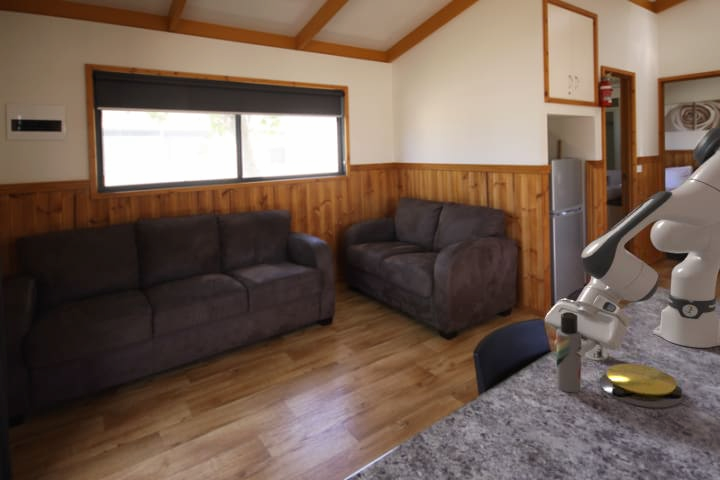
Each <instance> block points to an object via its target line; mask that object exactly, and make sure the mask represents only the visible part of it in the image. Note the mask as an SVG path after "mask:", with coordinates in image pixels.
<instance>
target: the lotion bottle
mask: <svg viewBox="0 0 720 480" xmlns="http://www.w3.org/2000/svg"><path fill="white" fill-rule="evenodd" d="M556 331H557V330H556ZM556 339H557V347H556V386H557V387H556V388H558V389H559V390H560V391H562V392H566V393H577V392H579V391H580V390H581V385H582V384H581V383H582V382H581V379H582V357H581V356H579V355H577V354H576V350H577V349H578V347H582V339H581V333H580V332H578V317H577V315H575V314H574V313H571V312H565V313H563V314H561V329H560V330H558V331H557V338H556Z"/></svg>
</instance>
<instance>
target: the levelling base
mask: <svg viewBox="0 0 720 480" xmlns="http://www.w3.org/2000/svg"><path fill="white" fill-rule="evenodd" d="M599 386H600V388H601V390H602V391H603V392H604V393H605V394H607V396H609V397H612V398H613V399H615V400H617V401H619V402H621V403H624V404H627V405H630V406H634V407H638V408H639V407H640V408H644V409H653V410H655V409H656V410H657V409H658V410H661V409H670V408H674V407H677V406H679V405H680V404H681V403H682V402H683V397H684V396H683V395H684V394H683V389H682V387H680V386H678V385H677V381H676V380H675V378H674V377H673V376H671V375H670V374H669V373H667V372H665V371H663V370H660V369H658V368H654V367H651V366H649V365H643V364H637V363H619V364H614V365H611V366H609V367H608V368H607V370H606V373H604V374H603V375H602V376H601V377H600V378H599Z"/></svg>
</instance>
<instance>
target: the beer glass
mask: <svg viewBox="0 0 720 480" xmlns="http://www.w3.org/2000/svg"><path fill="white" fill-rule="evenodd" d="M585 342H586V341H585ZM585 344H587V342H586V343H585ZM608 356H609V355H608V348H605V347H602V346H599V345H597V344H596V346H595V348H593V349H592V350H590V351H588V352H586V354H585V356H584V357H586V358H587V359H589V360H592V361H606V360H607V359H608Z"/></svg>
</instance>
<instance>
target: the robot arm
mask: <svg viewBox="0 0 720 480" xmlns="http://www.w3.org/2000/svg"><path fill="white" fill-rule="evenodd" d="M692 156H693V160H694V161H695V162H696V163H697V164H698V166H699V167H698V168H697V169H696V170H695V171H694V172H693V173H692V174H690V176H688V178H687V179H686V180H685V181H684V182H683V183H682V184H681V185H680V186H678V187H677V188H675V189H673V190H670V191H667V190H662V191H659V192H657V193H655V194H653V195H651V196H649V197H648V198H647V199H646V200H644V201H643V202H642V203H641V204H639V205H638V206H637V207H635V208H634V209H633V210H631V212H629V213H628V214H627V215H626V216H625V217H623V218H622V219H621V220H620V221H619V222H617V223H616V224H615V225H614V226H612V227H611V228H610V229H609V230H608V231H606V232H604V233H603V234H602V235H600V236H599V237H597V238H596V239H594V240H593V241H592V242H590V243H589V244H587V246H586V247H585V248H584V249H583V250H582V252H581V253H580V264H581V267H582V270H583V272H585V273H586V274H588V275H590V280H589V282H588V283H587V285H586V286H584V287H583V289H582V291H581V292H580V294H579V295H578V297H577V299H576V300H573V299H569V298H562V299H558V300H557V302H556V303H555V304H554V305H553V306H552V307H551V309H550V310H549V311H548V312H547V314H546V315H545V317H544V322H545V324H546V325H547V326H548V327H549V328H550V329H553V330H556V333H555V335H556V339H555V340H554V342H553V345H554V346H555V347H556V348H557V331H558V330H560V329H561V314H563V313H565V312H571V313H574V314H575V315H577V317H578V332H580V333H581V340H583V341H585V342H587V343H585V344H584V345H583V346H581V347H578V349H577V350H576V354H577V355H579V356H581V358H584V357H586V356H585V354H586V352H588V351H590V350H592V349H593V348H595V346H596V344H597V345H599V346H602V347H605V348H607V350H611V351H616V350H618V349H619V348H620V347H621V346H622V344H623V342H624V340H625V338H626V336H627V332H628V329H627V328H628V327H629V326H630V325H631V319H630V318H629V316H628V315H627V313H626V312H625V311H624V310H623V309H622V308H621V307H620V306H618V304H619V302H620V301H621V300H625V301H626V302H631V303H640V302H645V301H648V300H650V299H651V298H652V297H653V296H654V295H655V293H657V290H658V289H659V288H658V287H659V284H660V276H659V273H658V272H657V271H656V270H655V269H653V267H651V266H650V265H649V264H647V263H646V262H645V261H643V260H641V259H640V258H638V256H636V255H634V254H633V253H632V252H630V251H628V250H627V249H626V248H625V244H627V243H628V242H629V241H630V240H631V239H632V238H634V237H635V236H637V234H638V233H640V232H641V231H642V230H644V229H645V228H647V227H648V226H649V225H650V224H652V223H654V224H653V225H652V227H651V229H650V236H649V237H650V241H651V244H652V245H653V246H654V248H656V250H658V251H660V252H664V253H671V254H687V256H686V257H685V258H684V260H683V261H682V262H679V263H678V264H676V265H675V266H674V268H673V269H672V271H671V279H670V282H671V283H670V291H669V293H668V296H667V306H666V307H665V308H664V309H662V310H661V314H660V315H661V316H660V324H659V325H658V326H656V328H654V329H653V331H652V333H653V334H654V335H656V336H658V337H662V339H664V340H666V341H668V342H670V343H673V344H676V345H680V346H684V347H689V348H699V349H701V348H702V349H704V348H712V347H719V346H720V317H719V315H718V314H717V313H716V311H715V310H716V309H717V307H716V306H717V298H716V297H715V295H716V286H717V279H718V274H719V271H720V125H719V126H716V127H713V128H711V129H710V130H708V131H707V132H705V133H704V134H703V135H701V137H699V138H698V141H697V142H696V143H695V147H694V149H693V151H692Z"/></svg>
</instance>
